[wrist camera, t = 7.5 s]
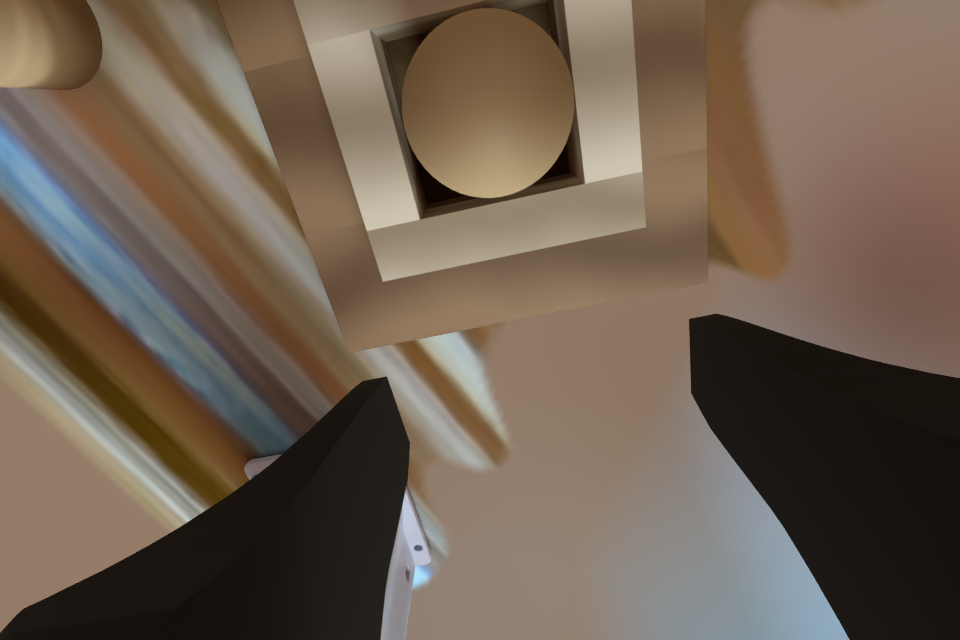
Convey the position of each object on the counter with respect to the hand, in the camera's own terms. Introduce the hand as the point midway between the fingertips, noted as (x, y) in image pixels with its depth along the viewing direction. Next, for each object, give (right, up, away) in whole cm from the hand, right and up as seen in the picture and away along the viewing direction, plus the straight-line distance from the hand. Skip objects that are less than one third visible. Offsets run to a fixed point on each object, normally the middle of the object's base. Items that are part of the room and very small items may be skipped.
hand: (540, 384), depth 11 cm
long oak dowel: (-1, +10, +7) cm, 12 cm away
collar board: (-1, +10, +7) cm, 12 cm away
